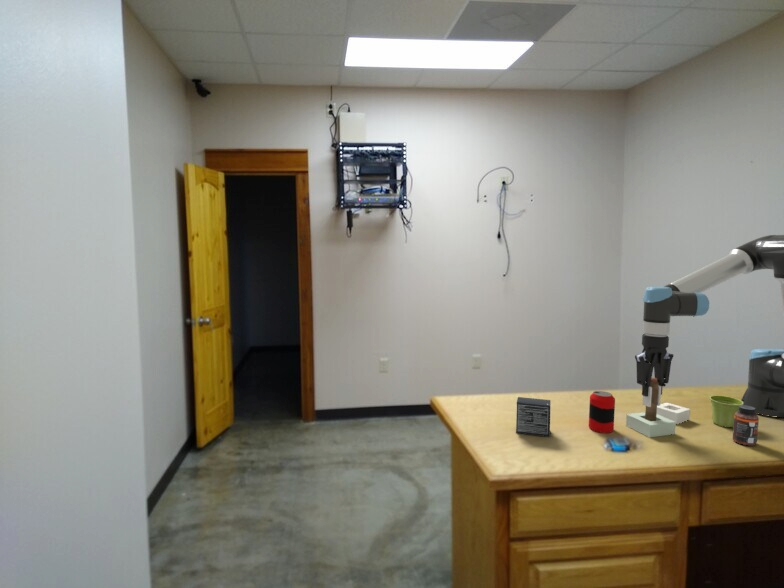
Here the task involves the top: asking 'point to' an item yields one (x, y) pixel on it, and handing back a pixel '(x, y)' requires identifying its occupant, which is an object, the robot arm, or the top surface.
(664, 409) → the white hollow block
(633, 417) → the pale open box
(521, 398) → the small box
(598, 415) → the soda can
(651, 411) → the brown cylinder
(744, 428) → the supplement bottle
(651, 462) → the top surface
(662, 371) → the robot arm
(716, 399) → the plant pot
